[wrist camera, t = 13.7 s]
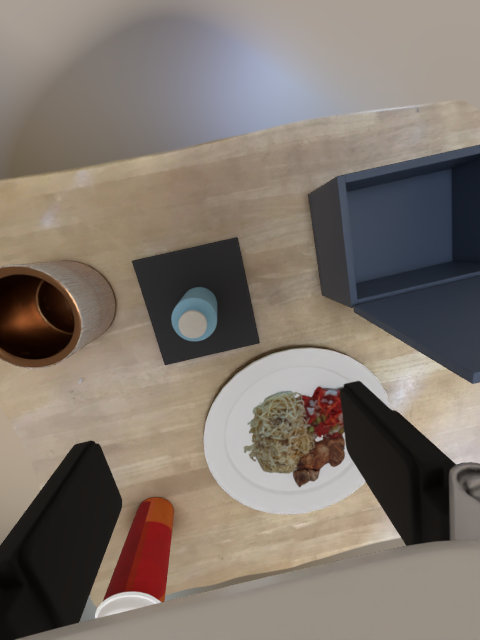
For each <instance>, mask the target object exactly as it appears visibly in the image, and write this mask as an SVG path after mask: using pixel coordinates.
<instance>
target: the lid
mask: <svg viewBox="0 0 480 640" xmlns="http://www.w3.org/2000/svg"><path fill="white" fill-rule="evenodd" d="M354 312H355V313H356V314H358V315H360V316H361V317H363V318H365V319H366V320H368V321H370V322H371V323H373V324H375V325H376V326H378V327H380V328H381V329H383V330H384V331H386V332H388V333H389V334H391V335H393V336H394V337H396V338H398V339H399V340H401V341H403V342H404V343H406V344H408V345H409V346H411V347H413V348H414V349H416V350H417V351H419V352H421V353H422V354H424V355H426V356H427V357H429V358H431V359H432V360H434V361H436V362H437V363H439V364H441V365H442V366H444V367H445V368H447V369H449V370H450V371H452V372H454V373H455V374H457V375H459V376H460V377H462V378H464V379H465V380H467V381H469V382H470V383H472V384H475V383H479V382H480V276H479V277H474V278H470V279H466V280H461V281H457V282H453V283H448V284H444V285H440V286H436V287H431V288H427V289H423V290H418V291H414V292H410V293H405V294H401V295H397V296H393V297H388V298H384V299H380V300H375V301H371V302H367V303H363V304H358V305H354Z"/></svg>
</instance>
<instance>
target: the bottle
mask: <svg viewBox="0 0 480 640" xmlns="http://www.w3.org/2000/svg"><path fill="white" fill-rule="evenodd" d="M171 320H172V326H173V328H174V330H175V332H176V333H177V334H178V335H179V336H180V337H182V338H183V339H185V340H188V341H201V340H204V339H206V338H208V337H209V336H210V335H211V334H212V333H213V332H214V330H215V328H216V325H217V300H216V297H215V295H214V294H213V293H212V292H211V291H210V290H208V289H206V288H203V287H195V288H192V289H190V290H189V291H187V292H186V294H185V295H184V296H183V297H182V299H181V300H180V301H179V303H178V304H177V305H176V307H175V308H174V310H173V313H172V318H171Z"/></svg>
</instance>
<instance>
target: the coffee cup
mask: <svg viewBox="0 0 480 640" xmlns="http://www.w3.org/2000/svg"><path fill="white" fill-rule="evenodd" d="M173 514H174V510H173V506H172V504H171V503H170V502H169V501H168V500H166V499H163V498H159V497H153V498H149V499H147V500H145V501H143V502H142V503H141V504H140V506H139V508H138V510H137V513H136V515H135V518H134V520H133V523H132V525H131V528H130V531H129V533H128V536H127V539H126V541H125V544H124V547H123V549H122V552H121V554H120V557H119V560H118V562H117V565H116V568H115V570H114V573H113V576H112V578H111V581H110V584H109V586H108V589H107V592H106V594H105V597H104V600H103V602H102V603H101V604H100V605H99V607H98V608H97V610H96V614H95V619H96V618H100V617H104V616H108V615H112V614H116V613H121V612H125V611H129V610H133V609H137V608H141V607H145V606H149V605H153V604H157V603H161V602H164V600H165V591H166V582H167V573H168V564H169V555H170V545H171V536H172V526H173Z"/></svg>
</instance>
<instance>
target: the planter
mask: <svg viewBox="0 0 480 640" xmlns="http://www.w3.org/2000/svg"><path fill="white" fill-rule="evenodd" d="M114 315H115V298H114V294H113V291H112V289H111V287H110V285H109V284H108V282H107V281H106V280H105V278H104V277H103V276H102V275H101V274H99V273H98V272H97V271H96V270H94V269H93V268H91V267H89V266H87V265H85V264H82V263H79V262H74V261H51V262H41V263H30V264H17V265H7V266H2V267H0V359H1V360H3V361H5V362H7V363H10V364H12V365H16V366H19V367H24V368H45V367H50V366H53V365H56V364H58V363H60V362H62V361H64V360H65V359H67V358H68V357H70V356H71V355H73V354H74V353H75V352H77V351H78V350H80V349H81V348H83V347H84V346H86V345H87V344H89V343H90V342H92V341H93V340H95V339H96V338H98V337H99V336H100V335H102V334H103V333H104V332H105V331H106V330H107V329H108V327H109V326H110V324H111V323H112V321H113V318H114Z"/></svg>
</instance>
